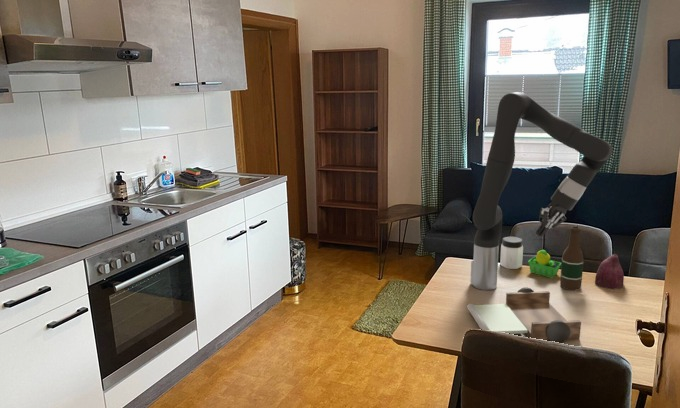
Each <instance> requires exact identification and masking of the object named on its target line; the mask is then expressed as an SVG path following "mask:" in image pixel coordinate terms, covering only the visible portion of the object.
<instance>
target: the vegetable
mask: <svg viewBox="0 0 680 408" xmlns="http://www.w3.org/2000/svg"><path fill="white" fill-rule="evenodd" d="M624 280H625V275H624V270H623V268H622V266H621V263H620V260H619V255H618V254H617V253H614V254H611V255H610V256H609V257H608V258H605V259H604V260H603V261H602V262H601V263H600V264H599V266H598V268H597V271H596V273H595V278H594V283H595V285H596V286H598V287H600V288H606V289H612V290H618V289H621V288H623V287H624Z"/></svg>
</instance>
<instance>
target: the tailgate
mask: <svg viewBox="0 0 680 408" xmlns="http://www.w3.org/2000/svg"><path fill="white" fill-rule="evenodd" d="M466 307H467V309H468V310H469V313H470V315H471V316H472V317H473V319H474V320H475V322H476V324H477V325H478V327H479V328H480V330H481V329H482V330H491V331H498V332H505V333H510V334H509V335H512V334H513V335H514V334H515V335H516V334H526V333H527V332H528V330H527V329H526V328H525V326H524V325H523V324H522V323H521V321H520V320H519V319H518V318H517V316H516V315H515V314H514V313H513V312H512V310H511V309H510V308H509V307H508V305H507V304H506V303H495V304H494V303H492V304H473V303H468V304H467V306H466ZM482 330H481V331H482Z"/></svg>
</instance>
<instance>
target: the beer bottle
mask: <svg viewBox="0 0 680 408" xmlns="http://www.w3.org/2000/svg"><path fill="white" fill-rule="evenodd" d="M569 231H570V233H569V241H568V245H567V246H566V248H565V249H564V251H563V253H562V256H561V266H560V278H559V279H560V280H559V283H560V288H562V289H564V290H567V291H578V290H580V289H581V288H582V282H583V273H584V271H583V269H584V255H583V252H582V250H581V248H580V237H581V236H580V233H581V232H582V229H581V228H580V227H579V226H571V227H570V229H569Z"/></svg>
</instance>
